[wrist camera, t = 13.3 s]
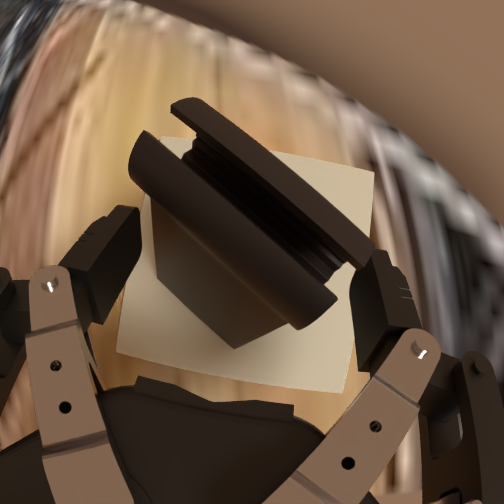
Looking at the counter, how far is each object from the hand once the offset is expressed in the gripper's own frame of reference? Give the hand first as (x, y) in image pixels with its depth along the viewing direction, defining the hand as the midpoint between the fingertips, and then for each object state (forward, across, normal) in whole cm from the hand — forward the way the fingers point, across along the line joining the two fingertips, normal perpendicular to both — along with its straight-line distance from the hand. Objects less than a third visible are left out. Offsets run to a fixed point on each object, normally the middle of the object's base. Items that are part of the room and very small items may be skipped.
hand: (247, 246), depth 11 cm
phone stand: (+6, 0, +5) cm, 8 cm away
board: (+6, 0, +6) cm, 8 cm away
